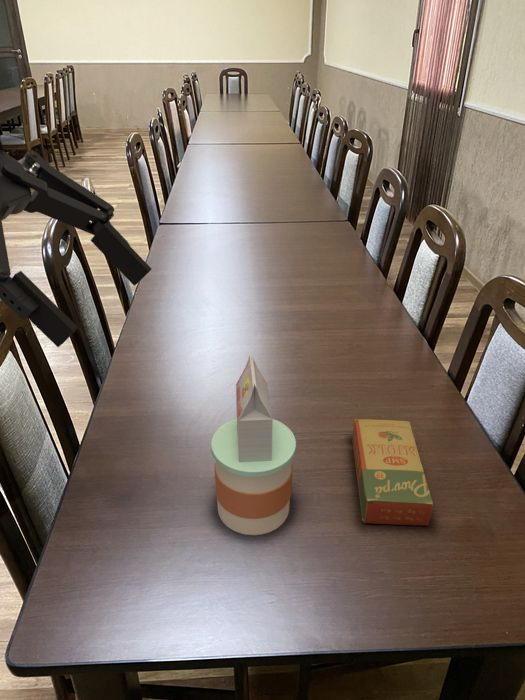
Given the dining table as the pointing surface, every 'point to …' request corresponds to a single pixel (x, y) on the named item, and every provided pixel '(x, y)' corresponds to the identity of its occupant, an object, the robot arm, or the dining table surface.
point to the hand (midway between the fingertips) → (110, 304)
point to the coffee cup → (253, 481)
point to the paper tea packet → (253, 415)
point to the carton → (390, 474)
